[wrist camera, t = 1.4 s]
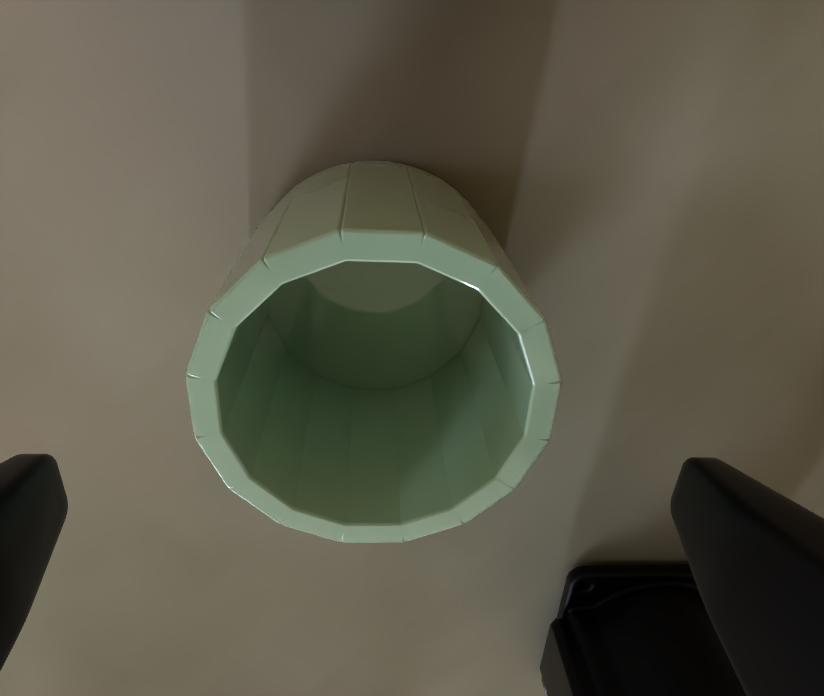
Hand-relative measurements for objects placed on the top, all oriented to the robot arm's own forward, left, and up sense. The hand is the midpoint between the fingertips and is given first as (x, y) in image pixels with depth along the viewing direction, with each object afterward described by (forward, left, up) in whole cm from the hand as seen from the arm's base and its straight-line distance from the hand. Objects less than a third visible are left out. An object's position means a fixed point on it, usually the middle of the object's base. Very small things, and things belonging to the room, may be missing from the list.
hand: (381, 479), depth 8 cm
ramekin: (0, 0, -7) cm, 7 cm away
